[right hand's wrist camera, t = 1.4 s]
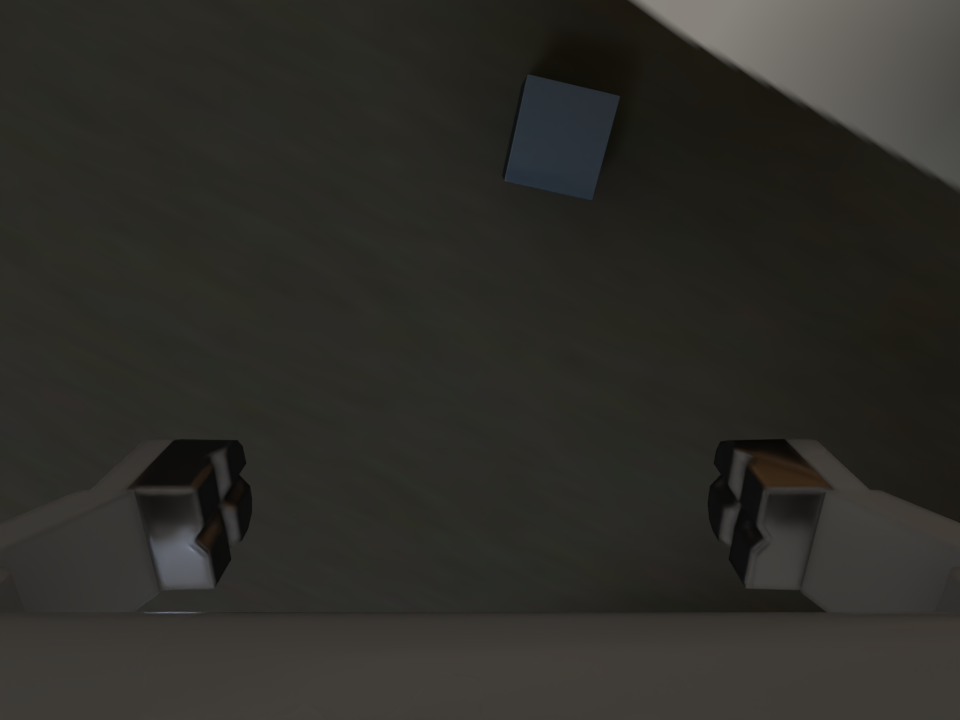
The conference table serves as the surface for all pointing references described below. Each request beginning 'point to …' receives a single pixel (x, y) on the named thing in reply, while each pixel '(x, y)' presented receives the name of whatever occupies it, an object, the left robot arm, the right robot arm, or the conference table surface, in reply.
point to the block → (559, 137)
